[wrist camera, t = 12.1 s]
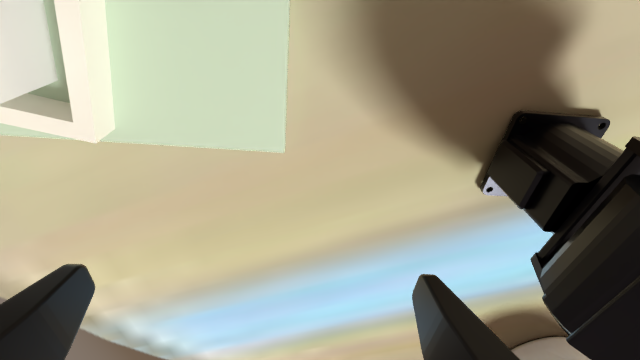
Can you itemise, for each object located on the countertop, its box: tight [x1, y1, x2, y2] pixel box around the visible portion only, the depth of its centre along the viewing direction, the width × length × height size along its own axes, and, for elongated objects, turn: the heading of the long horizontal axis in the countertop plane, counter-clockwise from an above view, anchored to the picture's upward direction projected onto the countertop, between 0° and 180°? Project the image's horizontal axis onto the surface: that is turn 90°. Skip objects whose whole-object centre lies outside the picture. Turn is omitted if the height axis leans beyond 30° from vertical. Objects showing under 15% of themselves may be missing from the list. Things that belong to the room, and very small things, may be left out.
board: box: [0, 0, 290, 153], centre depth 15 cm, size 20×15×1 cm
